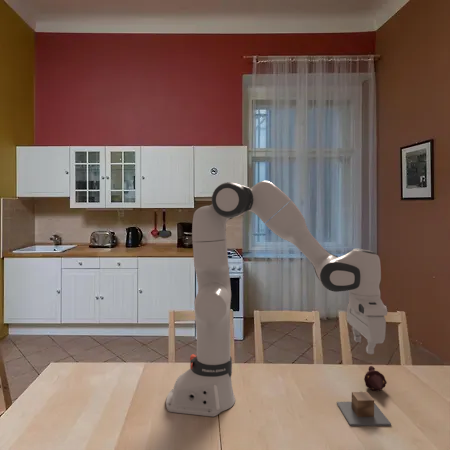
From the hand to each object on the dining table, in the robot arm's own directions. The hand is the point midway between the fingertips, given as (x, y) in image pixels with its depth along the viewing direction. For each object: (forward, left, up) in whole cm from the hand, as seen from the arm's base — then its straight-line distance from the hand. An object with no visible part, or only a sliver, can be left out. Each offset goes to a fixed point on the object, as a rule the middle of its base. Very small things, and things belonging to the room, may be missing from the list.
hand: (363, 347), depth 109 cm
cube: (0, 0, -20) cm, 20 cm away
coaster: (0, 0, -21) cm, 21 cm away
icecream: (+10, +15, -21) cm, 28 cm away
